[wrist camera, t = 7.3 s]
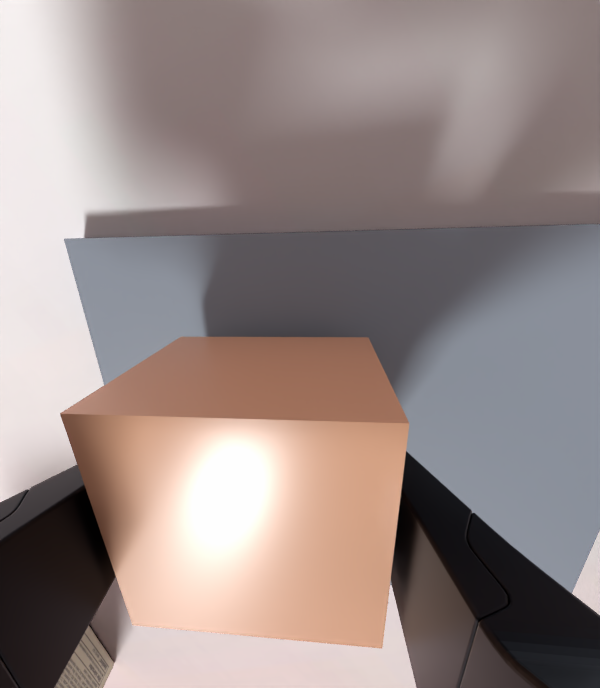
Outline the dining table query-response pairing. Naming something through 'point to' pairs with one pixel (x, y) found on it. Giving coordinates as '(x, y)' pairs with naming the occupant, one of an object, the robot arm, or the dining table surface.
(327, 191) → the dining table surface
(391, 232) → the base plate
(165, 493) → the orange block
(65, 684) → the skincare box
